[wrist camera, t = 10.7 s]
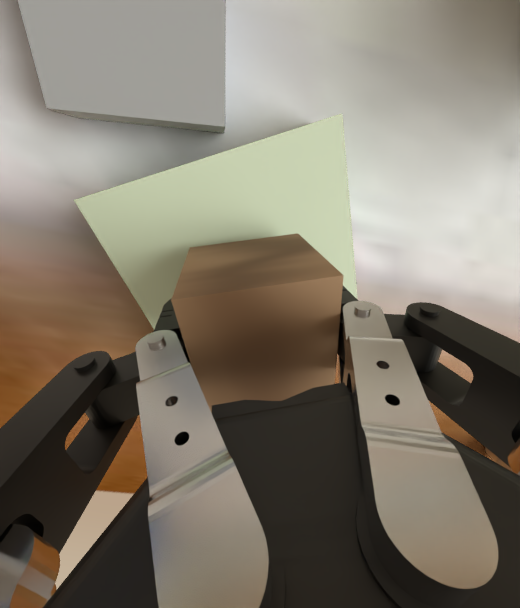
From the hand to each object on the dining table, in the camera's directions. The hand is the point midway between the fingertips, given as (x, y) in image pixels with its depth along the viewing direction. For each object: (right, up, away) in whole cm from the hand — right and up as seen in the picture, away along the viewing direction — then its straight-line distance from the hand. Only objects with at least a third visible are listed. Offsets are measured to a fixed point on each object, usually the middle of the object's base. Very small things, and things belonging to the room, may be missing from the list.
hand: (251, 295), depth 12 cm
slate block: (-5, +12, -1) cm, 13 cm away
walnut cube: (0, 0, +1) cm, 1 cm away
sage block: (-1, +3, +5) cm, 6 cm away
